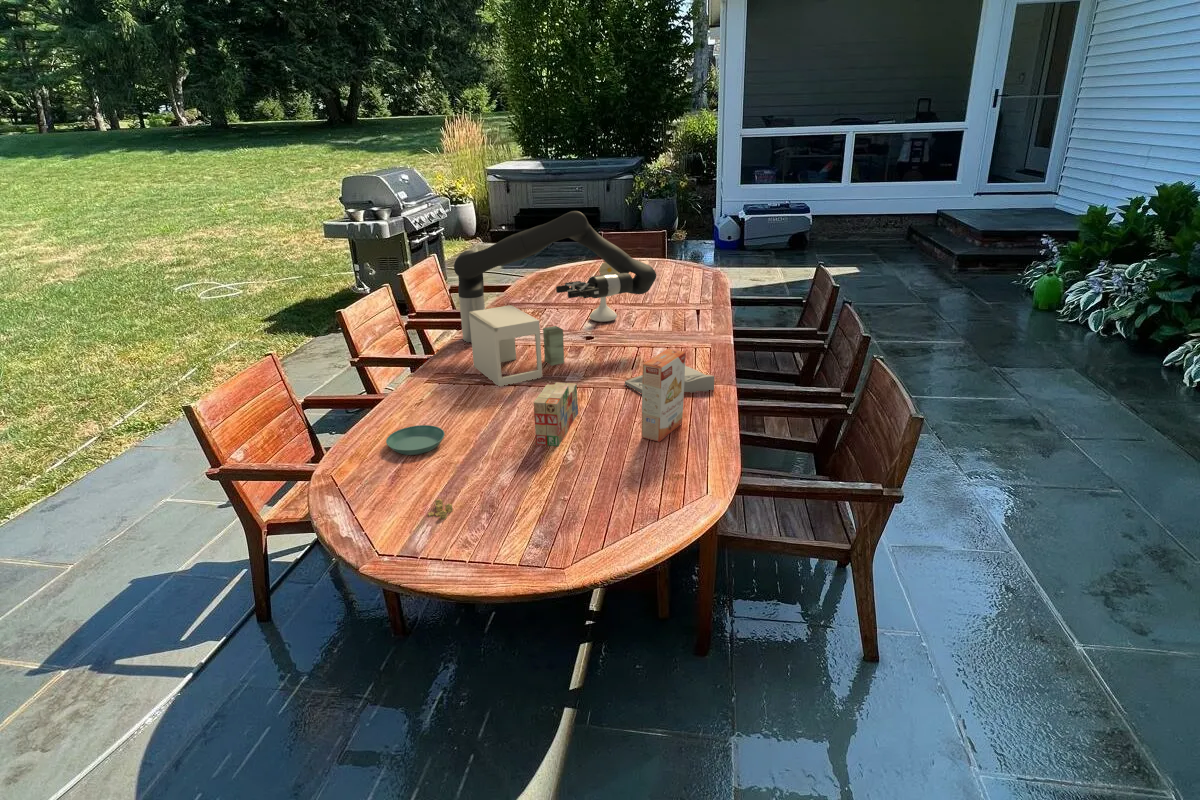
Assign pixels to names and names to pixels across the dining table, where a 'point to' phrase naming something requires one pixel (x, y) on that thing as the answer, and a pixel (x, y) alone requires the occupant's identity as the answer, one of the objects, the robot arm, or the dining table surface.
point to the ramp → (691, 382)
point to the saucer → (415, 439)
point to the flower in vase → (604, 300)
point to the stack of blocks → (555, 413)
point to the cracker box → (662, 394)
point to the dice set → (439, 509)
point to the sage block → (553, 345)
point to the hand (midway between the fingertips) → (562, 292)
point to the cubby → (502, 341)
